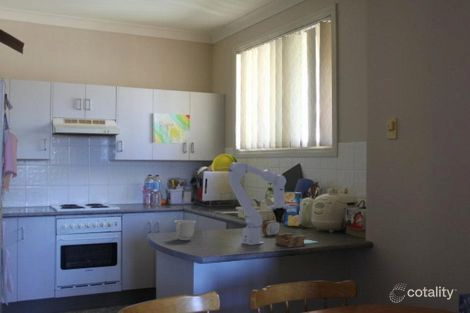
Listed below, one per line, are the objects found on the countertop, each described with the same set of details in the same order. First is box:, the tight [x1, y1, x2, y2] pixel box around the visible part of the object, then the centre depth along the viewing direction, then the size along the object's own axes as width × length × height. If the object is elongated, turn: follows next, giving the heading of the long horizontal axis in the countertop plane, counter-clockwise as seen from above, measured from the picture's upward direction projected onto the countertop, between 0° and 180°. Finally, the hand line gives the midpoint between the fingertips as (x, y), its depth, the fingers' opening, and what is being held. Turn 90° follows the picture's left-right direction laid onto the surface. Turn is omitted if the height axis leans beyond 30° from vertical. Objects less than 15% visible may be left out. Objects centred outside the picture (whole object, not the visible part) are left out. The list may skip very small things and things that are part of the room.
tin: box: [261, 219, 281, 237], centre depth 299 cm, size 15×3×8 cm, turn 141°
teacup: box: [173, 219, 197, 241], centre depth 277 cm, size 12×15×10 cm
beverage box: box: [283, 191, 303, 227], centre depth 346 cm, size 7×11×22 cm, turn 71°
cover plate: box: [304, 239, 319, 246], centre depth 273 cm, size 11×8×1 cm
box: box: [274, 232, 306, 248], centre depth 266 cm, size 12×10×5 cm
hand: (278, 222), depth 275 cm, fingers closed
